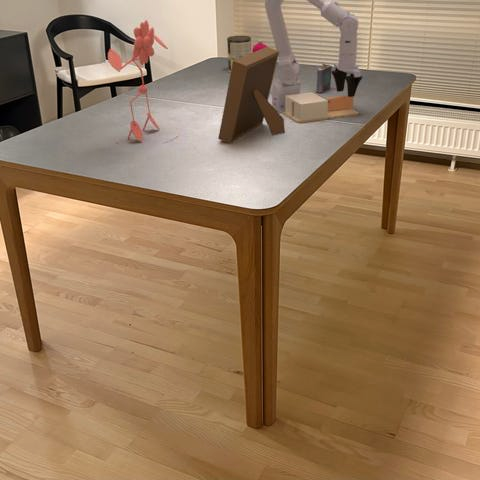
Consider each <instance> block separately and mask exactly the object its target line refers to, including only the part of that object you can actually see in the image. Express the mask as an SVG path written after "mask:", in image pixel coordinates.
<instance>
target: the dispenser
mask: <svg viewBox="0 0 480 480" xmlns="http://www.w3.org/2000/svg"><path fill="white" fill-rule="evenodd" d="M325 98H326V97H323V96H321V95H319V93H317V92H314V91H313V92H312V91H309V92H303V93H301V92H300V94H293V95H286V96H285V112H282V114H283V115H285V117H287V118H289V119H290V120H292V121H294V122H295V123H297V124H303V123H307V122H315V121H321V119H323V120H329V119H328V118H330V119H335V117H336V118H341V116H343V117H348V116H349V115H350V116H355V115H357V116H358V115H359V111H356V110H354V109H352V107H350V108H343V109H336V110H329V111H328V103H330V101H329V100H327V99H325Z"/></svg>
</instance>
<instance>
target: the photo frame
mask: <svg viewBox="0 0 480 480" xmlns="http://www.w3.org/2000/svg"><path fill="white" fill-rule="evenodd" d="M278 55H279V51H277V50H276V49H274V48H272V47H268V46H267V47H265V48H263V49H260V50H258V51H256V52H253V53H252V52H251V54H248V55H246V56H243V57H241V58H239V59H236V60H234V61H233V64H232V69H231V72H230V75H229V80H228V85H227V91H226V96H225V103H224V107H223V112H222V118H221V123H220V127H219V134H218V139H219V141H223V142H224V143H227V144H232V143H234V142H236V141H238V140H239V139H240V138H242V137H244V136H245V135H247V134H249V133H250V132H252V131H253V130H255V129H257V128H259V127H260V126H262V125H263V123H264V120H265V122H266V124H267V126H268V128H269V131H270V133H271V135H272V136H274V135H275V134H276V135H279V133H280V134H284V133H285V132H286V131H285V119H284V117H283V116H282V115H281V114H280V112H279V111H277V110H276V109H274V107H273V106H272V103H270V102H269V97H270V94H271V93H270V92H271V87H272V85H273V84H272V83H273V79H274V75H275V71H276V67H277V63H278V60H279V57H278Z"/></svg>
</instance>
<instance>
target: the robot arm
mask: <svg viewBox="0 0 480 480" xmlns="http://www.w3.org/2000/svg"><path fill="white" fill-rule="evenodd" d="M264 1H265V2H264V8H265V11H266V15H267V20H268V22H269V23H268V24H269V26H270V30H271V34H272V39H273V41H274V45H275V50H277V51H279V55H278V67H279V68H278V69H279V72H278V78H279V83H277V84H273V86H272V90H271V105H272V106H273V107H274V109H275V110H276V111H277V112H278V113H283V112H285V96H286V95H293V94H301V81H300V79H299V76H300V75H301V72H302V68H301V65H300V64H299V62H298V61H297V60H296V56H295V54H294V52H293V50H292V45H291V42H290V38H289V34H288V31H287V26H286V23H285V19H284V14H283V12H282V7H281V6H282V4H283V2H284V1H285V0H264ZM306 1H307V2H308V3H310V4H311V5H313V6H314V7H315V8H317V9H319V11H320V16H321V17H323V18H324V19H325V20H326V21H328V22H329V23H331V25H333V26H334V27H336V28H339V32H340V38H339V48H338V50H339V51H338V62H334V63H333V69H334V70H331V75H332V76H333V79H334V83H335V87H336V88H335V89H336V92H338V93H339V92H344V90H345V83H346V87H347V95H348V97H353V96H354V97H355V96H356V91H357V90H358V87H359V84H360V82H361V81H362V79H363V76H362V74H361V72H362V71H361V70H360V69H359V65H357V50H358V38H357V37H358V28H359V19H358V18H357V16H356V15H355V14H353V13H351V12H350V10H347V11H346V10H345V8H343V7H341V5H339V2H338V1H337V0H334V1H333V0H306ZM348 74H349V75H348Z"/></svg>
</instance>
